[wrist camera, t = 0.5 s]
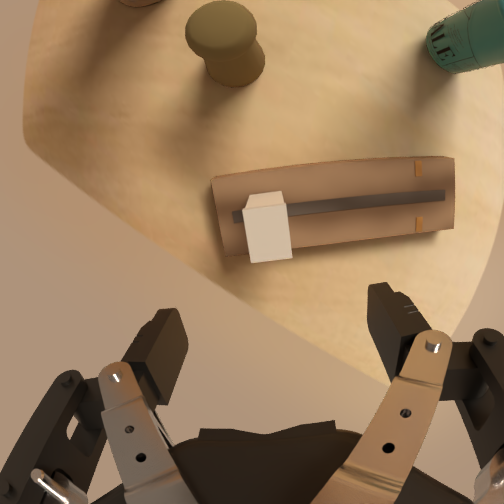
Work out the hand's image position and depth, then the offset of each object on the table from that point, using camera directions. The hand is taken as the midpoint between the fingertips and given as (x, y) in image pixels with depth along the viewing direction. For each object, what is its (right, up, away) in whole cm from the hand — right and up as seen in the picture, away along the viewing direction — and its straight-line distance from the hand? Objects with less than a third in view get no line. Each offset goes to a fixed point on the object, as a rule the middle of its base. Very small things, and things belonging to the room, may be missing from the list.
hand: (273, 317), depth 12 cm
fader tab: (+1, +6, +16) cm, 17 cm away
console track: (+9, +8, +18) cm, 22 cm away
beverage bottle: (+21, +26, +10) cm, 35 cm away
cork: (-3, +22, +13) cm, 26 cm away
